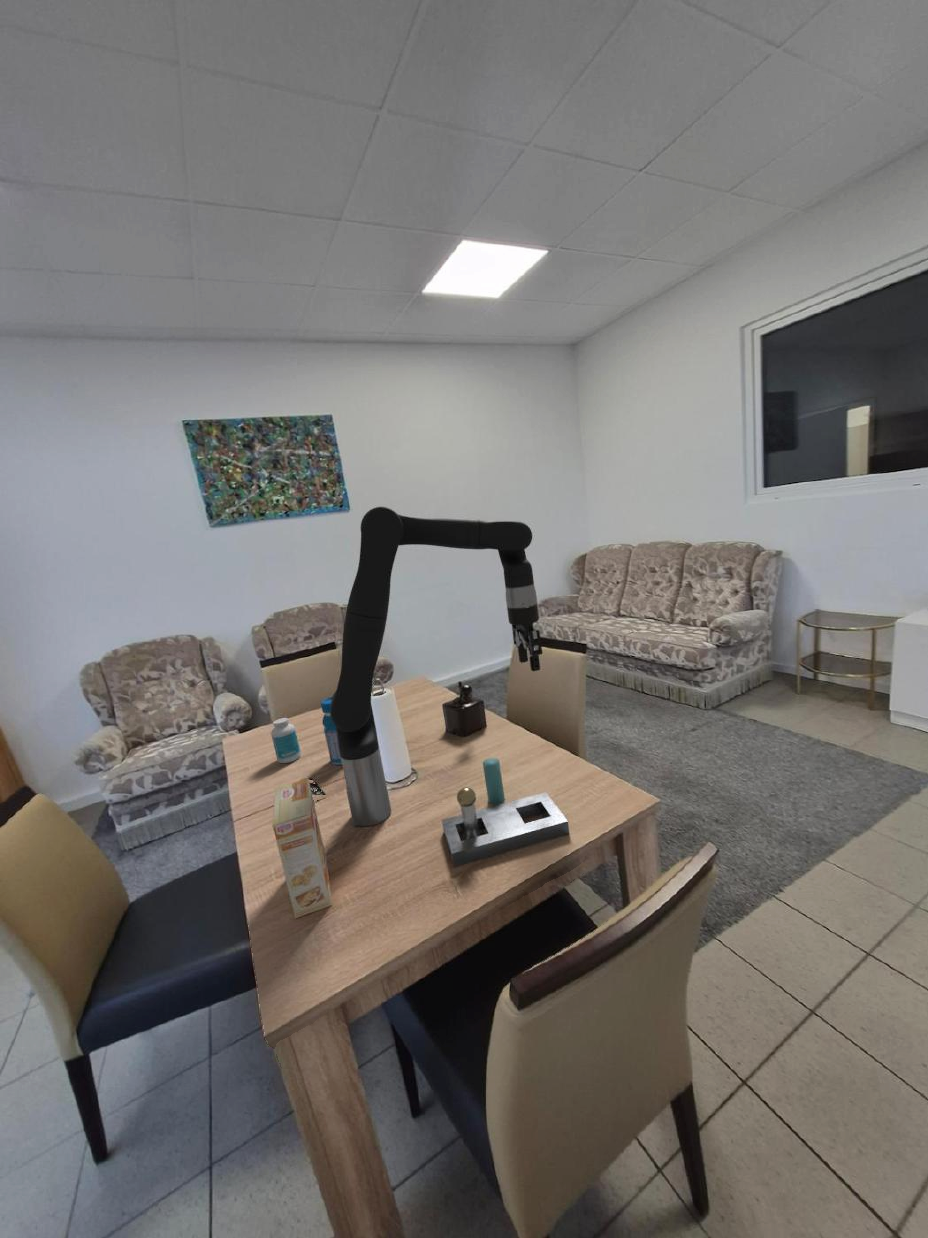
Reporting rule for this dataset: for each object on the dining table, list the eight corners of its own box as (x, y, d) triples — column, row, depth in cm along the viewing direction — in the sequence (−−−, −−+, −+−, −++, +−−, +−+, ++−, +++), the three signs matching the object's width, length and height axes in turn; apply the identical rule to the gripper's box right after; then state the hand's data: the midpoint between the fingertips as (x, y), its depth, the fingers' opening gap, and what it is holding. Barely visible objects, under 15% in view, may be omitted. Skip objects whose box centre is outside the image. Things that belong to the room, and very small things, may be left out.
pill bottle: (306, 755, 158) (297, 717, 156) (287, 765, 152) (278, 726, 150) (291, 752, 162) (283, 714, 160) (273, 762, 156) (263, 724, 154)
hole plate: (454, 866, 95) (444, 811, 93) (443, 831, 107) (435, 781, 105) (569, 834, 100) (563, 780, 98) (547, 803, 112) (541, 754, 109)
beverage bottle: (337, 768, 145) (324, 707, 141) (325, 761, 151) (313, 701, 148) (362, 757, 150) (350, 697, 147) (349, 750, 157) (337, 693, 153)
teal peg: (490, 806, 114) (485, 768, 112) (486, 797, 118) (480, 760, 116) (506, 801, 115) (501, 763, 113) (501, 793, 119) (496, 756, 117)
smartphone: (311, 777, 142) (327, 796, 129) (311, 779, 142) (328, 798, 129) (285, 787, 138) (300, 808, 125) (286, 789, 138) (301, 810, 125)
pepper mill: (443, 730, 161) (435, 680, 158) (468, 719, 168) (461, 670, 164) (472, 742, 149) (464, 688, 146) (498, 729, 156) (490, 677, 152)
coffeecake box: (333, 906, 90) (311, 813, 86) (293, 920, 88) (270, 826, 84) (328, 858, 104) (309, 777, 100) (294, 870, 102) (274, 787, 98)
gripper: (499, 602, 124) (507, 662, 127) (516, 610, 110) (525, 676, 113) (526, 597, 125) (533, 656, 128) (547, 604, 112) (554, 670, 115)
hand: (529, 666), depth 121 cm, fingers open, 8 cm apart
